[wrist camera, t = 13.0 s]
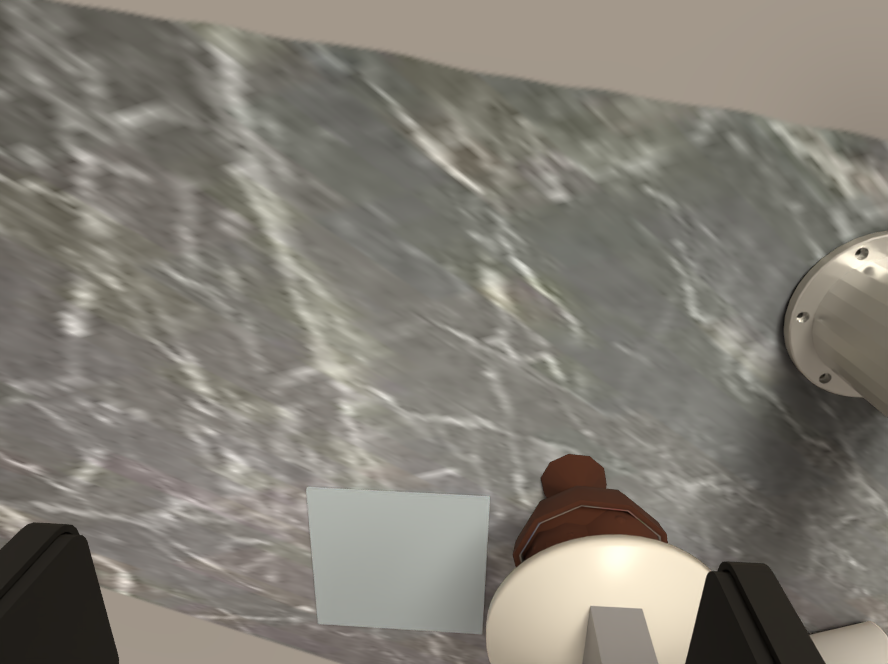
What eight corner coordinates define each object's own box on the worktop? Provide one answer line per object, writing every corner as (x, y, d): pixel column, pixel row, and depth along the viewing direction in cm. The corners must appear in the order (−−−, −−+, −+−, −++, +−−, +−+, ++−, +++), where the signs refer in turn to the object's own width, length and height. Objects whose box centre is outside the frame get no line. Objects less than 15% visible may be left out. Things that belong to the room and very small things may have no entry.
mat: (489, 496, 53) (489, 499, 52) (482, 630, 59) (482, 634, 59) (307, 486, 53) (306, 489, 53) (318, 620, 60) (317, 624, 59)
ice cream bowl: (629, 414, 49) (687, 548, 35) (644, 524, 53) (700, 683, 39) (499, 436, 50) (505, 572, 36) (523, 540, 54) (536, 699, 41)
